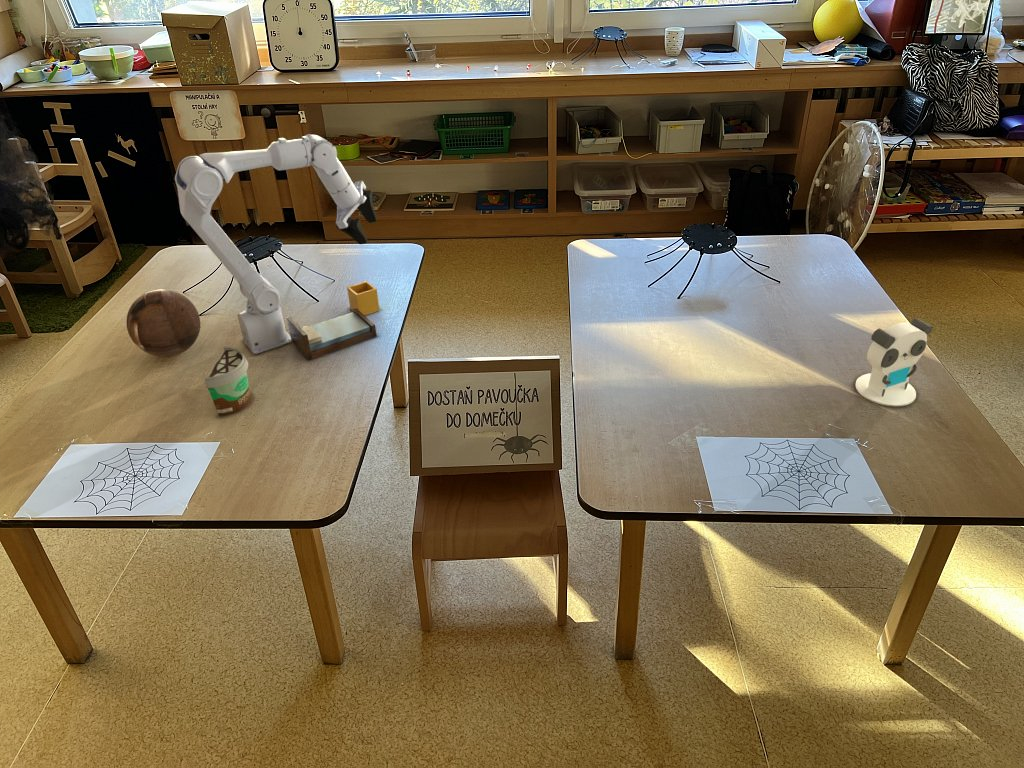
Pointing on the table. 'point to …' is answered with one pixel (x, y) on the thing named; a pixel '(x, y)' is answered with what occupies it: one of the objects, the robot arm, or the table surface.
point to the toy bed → (331, 334)
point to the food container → (229, 383)
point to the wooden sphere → (163, 323)
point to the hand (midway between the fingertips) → (368, 232)
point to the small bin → (363, 298)
